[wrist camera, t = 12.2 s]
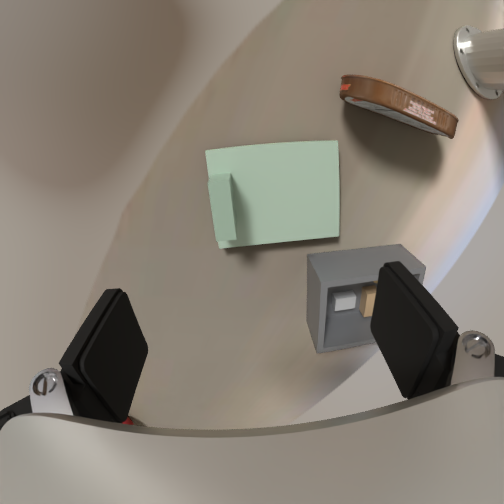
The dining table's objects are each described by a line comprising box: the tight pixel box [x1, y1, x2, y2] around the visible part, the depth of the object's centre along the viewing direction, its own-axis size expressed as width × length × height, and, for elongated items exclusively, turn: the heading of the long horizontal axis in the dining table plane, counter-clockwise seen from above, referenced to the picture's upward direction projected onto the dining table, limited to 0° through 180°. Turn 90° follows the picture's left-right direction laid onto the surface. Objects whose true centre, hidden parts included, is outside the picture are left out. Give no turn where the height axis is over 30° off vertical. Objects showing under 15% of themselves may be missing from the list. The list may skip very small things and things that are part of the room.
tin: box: [340, 75, 458, 139], centre depth 24 cm, size 15×3×8 cm, turn 81°
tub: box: [307, 244, 426, 353], centre depth 35 cm, size 14×11×7 cm
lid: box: [205, 140, 339, 249], centre depth 29 cm, size 14×11×7 cm
